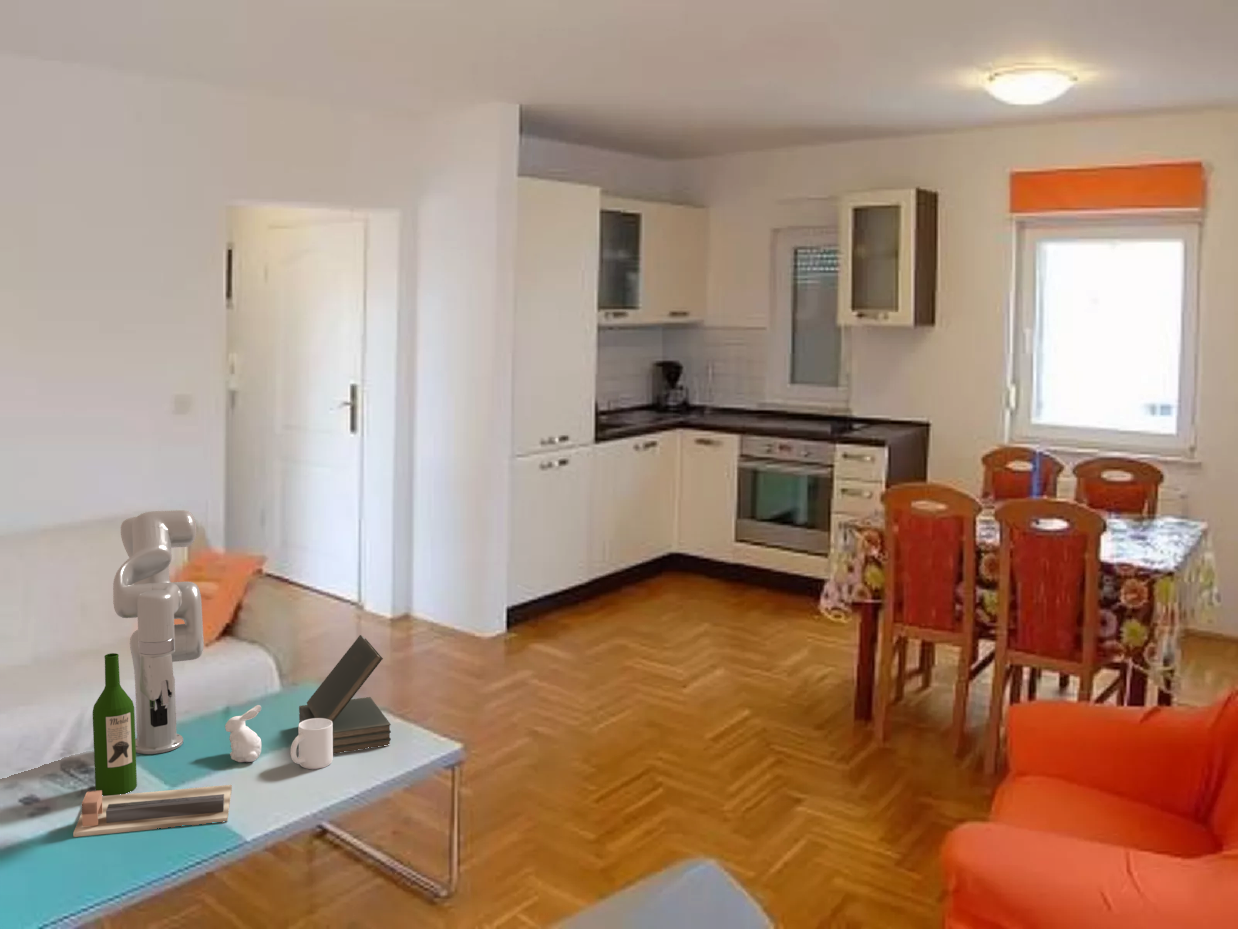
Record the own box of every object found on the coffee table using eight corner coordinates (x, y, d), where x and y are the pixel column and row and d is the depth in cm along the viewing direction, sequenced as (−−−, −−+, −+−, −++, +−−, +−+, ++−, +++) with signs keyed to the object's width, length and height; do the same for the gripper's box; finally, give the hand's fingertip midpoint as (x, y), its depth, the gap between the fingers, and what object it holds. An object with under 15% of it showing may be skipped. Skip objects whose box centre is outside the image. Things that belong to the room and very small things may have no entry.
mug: (302, 777, 268) (302, 736, 267) (279, 769, 273) (279, 729, 272) (339, 761, 278) (339, 722, 277) (317, 754, 283) (316, 715, 281)
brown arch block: (87, 814, 243) (86, 791, 243) (102, 812, 244) (101, 790, 243) (82, 826, 237) (81, 803, 237) (97, 825, 238) (96, 802, 237)
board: (88, 801, 252) (88, 786, 252) (231, 788, 261) (231, 773, 261) (73, 837, 235) (72, 820, 235) (227, 822, 244) (226, 806, 243)
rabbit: (222, 753, 282) (221, 708, 280) (258, 745, 288) (257, 700, 286) (239, 768, 273) (238, 722, 271) (276, 760, 279) (275, 714, 277)
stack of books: (299, 727, 302) (298, 639, 298) (370, 718, 310) (370, 631, 307) (314, 758, 281) (313, 663, 278) (390, 747, 289) (390, 654, 286)
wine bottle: (105, 800, 253) (100, 663, 249) (89, 788, 259) (83, 654, 255) (143, 788, 260) (139, 655, 256) (127, 777, 266) (122, 646, 262)
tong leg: (107, 817, 242) (107, 807, 241) (109, 814, 243) (108, 804, 243) (223, 807, 248) (223, 797, 248) (224, 804, 250) (224, 794, 249)
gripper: (129, 641, 250) (131, 719, 252) (149, 657, 238) (152, 738, 240) (163, 635, 254) (165, 712, 257) (185, 651, 243) (187, 731, 245)
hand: (159, 724), depth 249 cm, fingers closed
